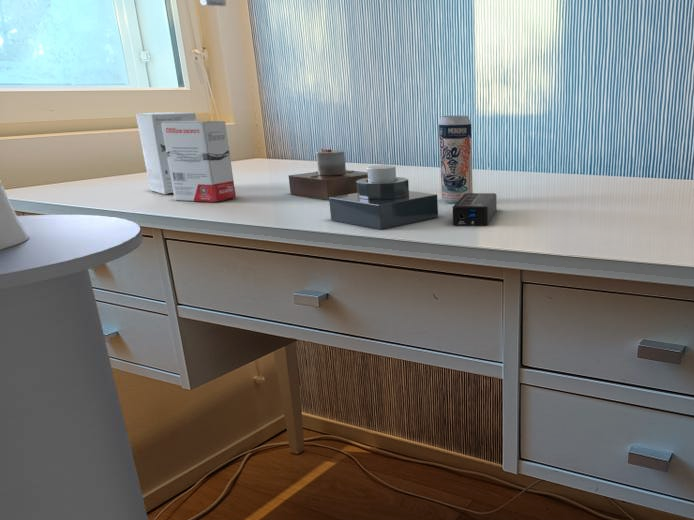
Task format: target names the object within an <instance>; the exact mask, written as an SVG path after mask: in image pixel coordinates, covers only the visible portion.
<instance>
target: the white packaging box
mask: <svg viewBox="0 0 694 520" xmlns="http://www.w3.org/2000/svg"><path fill="white" fill-rule="evenodd" d="M135 118H136V122H137V123H136V124H137V127H138V133H139V138H140V144H141V149H142V154H143V160H144V164H145V170H146V176H147V181H148V184H149V191H152V192H156V193H158V194H163V195H169V194H174V193H173V187H172V182H171V176H170V170H169V165H168V159H167V153H166V148H165V142H164V136H163V131H162V125H161V123H163V121H197V116H196V112H186V111H185V112H184V111H183V112H182V111H181V112H180V111H168V112H167V111H166V112H165V111H164V112H162V111H161V112H139V113H136V114H135Z"/></svg>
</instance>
